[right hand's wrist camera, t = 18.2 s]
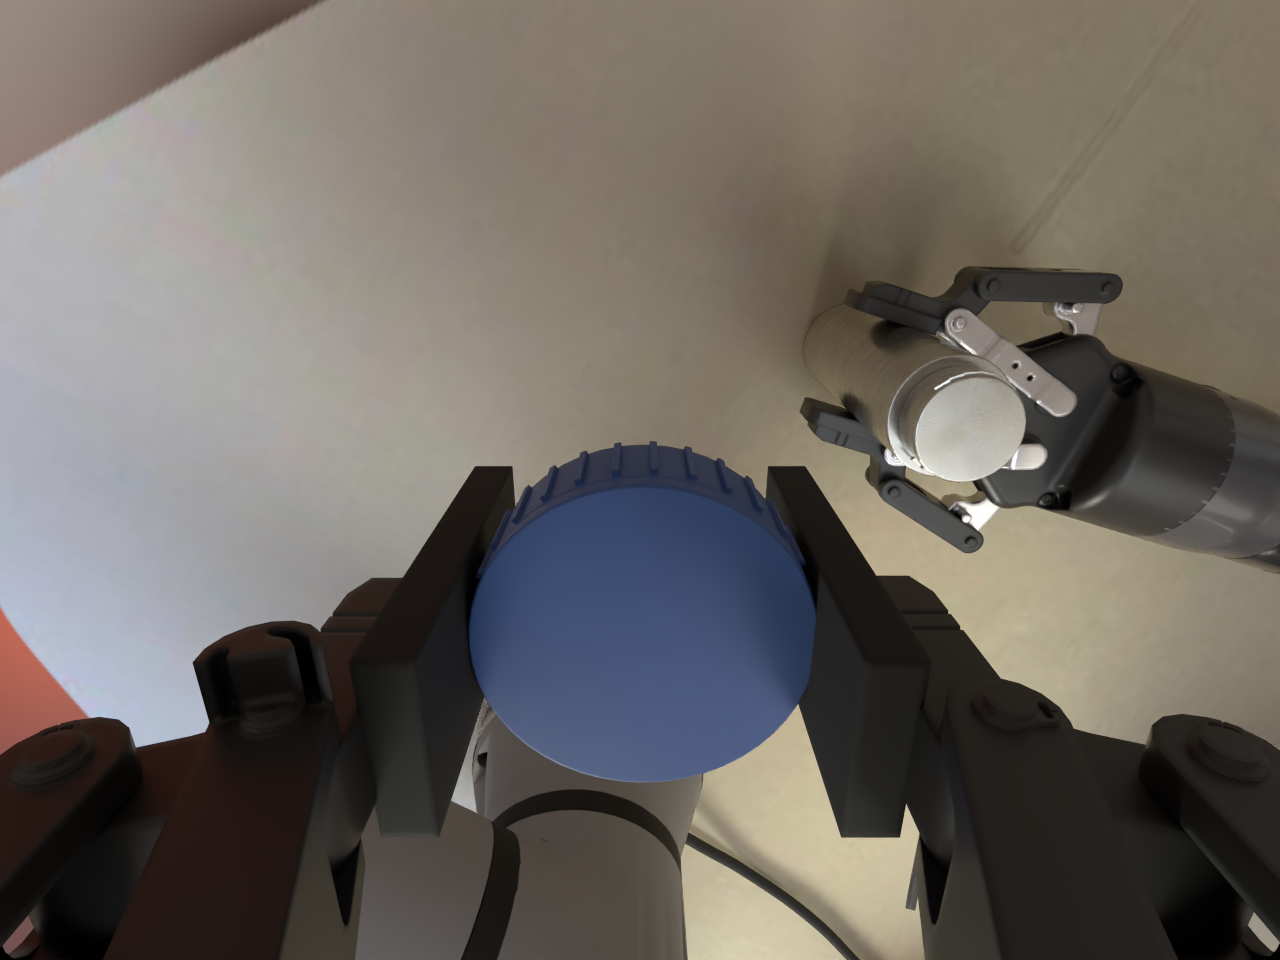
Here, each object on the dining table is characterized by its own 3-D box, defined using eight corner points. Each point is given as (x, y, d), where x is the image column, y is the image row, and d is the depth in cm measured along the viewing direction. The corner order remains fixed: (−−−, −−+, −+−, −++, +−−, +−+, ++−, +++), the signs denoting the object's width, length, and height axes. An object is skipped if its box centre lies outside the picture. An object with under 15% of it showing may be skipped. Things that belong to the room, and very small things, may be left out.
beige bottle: (902, 355, 37) (1062, 445, 23) (830, 403, 38) (940, 517, 24) (861, 286, 36) (1003, 335, 22) (787, 337, 37) (877, 416, 23)
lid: (462, 676, 13) (435, 748, 11) (523, 400, 11) (501, 436, 9) (741, 738, 13) (755, 815, 12) (845, 486, 11) (881, 533, 10)
